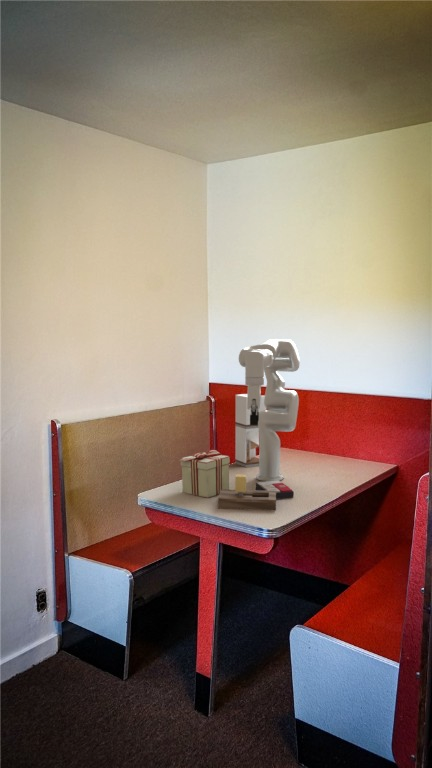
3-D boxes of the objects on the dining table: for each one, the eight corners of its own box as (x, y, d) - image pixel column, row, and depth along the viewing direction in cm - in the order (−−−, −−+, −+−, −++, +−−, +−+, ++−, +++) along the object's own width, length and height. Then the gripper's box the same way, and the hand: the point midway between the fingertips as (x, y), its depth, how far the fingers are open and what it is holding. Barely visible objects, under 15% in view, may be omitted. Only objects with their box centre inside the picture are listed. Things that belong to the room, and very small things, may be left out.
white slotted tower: (246, 467, 304) (246, 396, 300) (235, 463, 313) (235, 394, 310) (265, 464, 309) (266, 395, 305) (254, 460, 318) (255, 393, 315)
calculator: (269, 492, 248) (255, 481, 262) (268, 502, 248) (255, 490, 262) (294, 489, 251) (279, 478, 265) (293, 499, 252) (278, 488, 266)
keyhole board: (221, 499, 249) (221, 489, 249) (275, 500, 247) (275, 490, 246) (218, 508, 236) (218, 498, 236) (275, 510, 234) (275, 500, 234)
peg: (234, 502, 244) (234, 473, 243) (247, 502, 244) (247, 474, 243) (233, 506, 240) (233, 477, 238) (246, 506, 239) (246, 477, 238)
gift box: (196, 484, 272) (196, 445, 271) (231, 490, 262) (231, 450, 260) (172, 492, 258) (172, 452, 257) (208, 500, 248) (208, 457, 246)
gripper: (246, 379, 259) (246, 419, 261) (244, 383, 242) (244, 426, 244) (264, 379, 259) (264, 419, 260) (263, 383, 241) (263, 426, 243)
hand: (254, 422), depth 252 cm, fingers open, 9 cm apart
